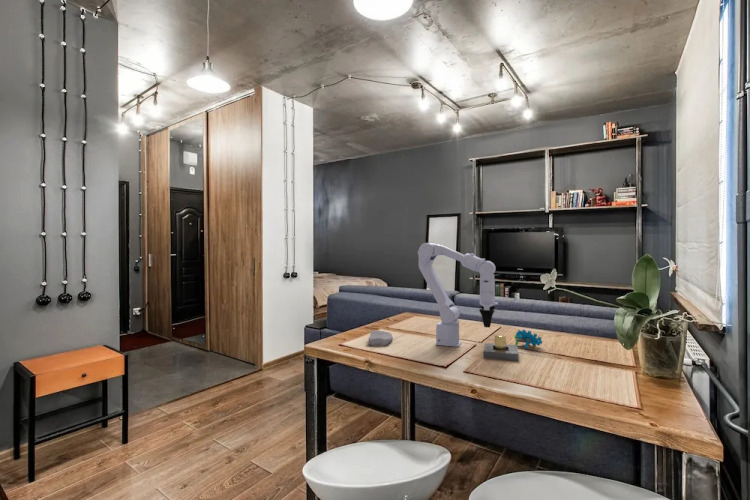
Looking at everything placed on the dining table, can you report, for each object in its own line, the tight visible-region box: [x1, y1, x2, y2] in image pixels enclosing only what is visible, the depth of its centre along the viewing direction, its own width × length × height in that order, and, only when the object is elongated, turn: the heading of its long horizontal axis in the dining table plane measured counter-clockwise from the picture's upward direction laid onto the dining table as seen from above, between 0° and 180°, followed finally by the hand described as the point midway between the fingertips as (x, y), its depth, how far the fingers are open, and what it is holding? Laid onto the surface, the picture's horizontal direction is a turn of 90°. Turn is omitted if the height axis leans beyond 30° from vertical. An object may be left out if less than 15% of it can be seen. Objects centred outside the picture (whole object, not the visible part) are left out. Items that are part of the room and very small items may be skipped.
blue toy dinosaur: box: [514, 329, 543, 350], centre depth 145 cm, size 11×6×10 cm
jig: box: [482, 342, 519, 362], centre depth 136 cm, size 12×12×2 cm
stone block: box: [368, 329, 394, 347], centre depth 155 cm, size 12×5×10 cm
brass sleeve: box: [494, 334, 507, 351], centre depth 136 cm, size 4×4×7 cm
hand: (487, 325), depth 144 cm, fingers open, 7 cm apart
